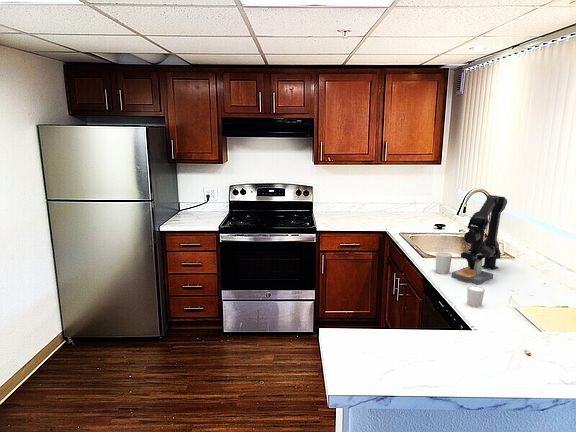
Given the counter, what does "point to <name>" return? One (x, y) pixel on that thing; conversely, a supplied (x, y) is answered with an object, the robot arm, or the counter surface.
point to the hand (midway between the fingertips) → (474, 269)
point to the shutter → (467, 273)
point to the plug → (477, 266)
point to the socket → (476, 279)
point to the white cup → (443, 262)
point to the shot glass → (475, 295)
